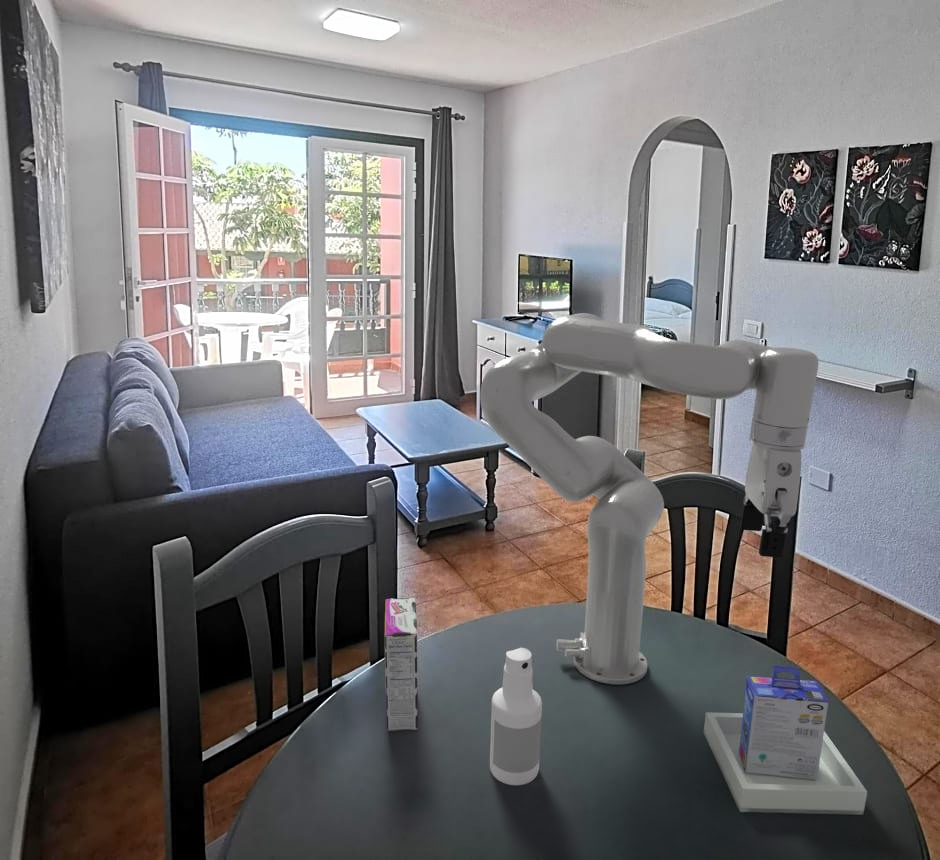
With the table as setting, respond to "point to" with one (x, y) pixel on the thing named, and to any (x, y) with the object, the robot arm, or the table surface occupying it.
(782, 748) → the ink cartridge box
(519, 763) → the spray bottle
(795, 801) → the tray
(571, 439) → the robot arm
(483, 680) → the table surface
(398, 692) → the candy bar box
